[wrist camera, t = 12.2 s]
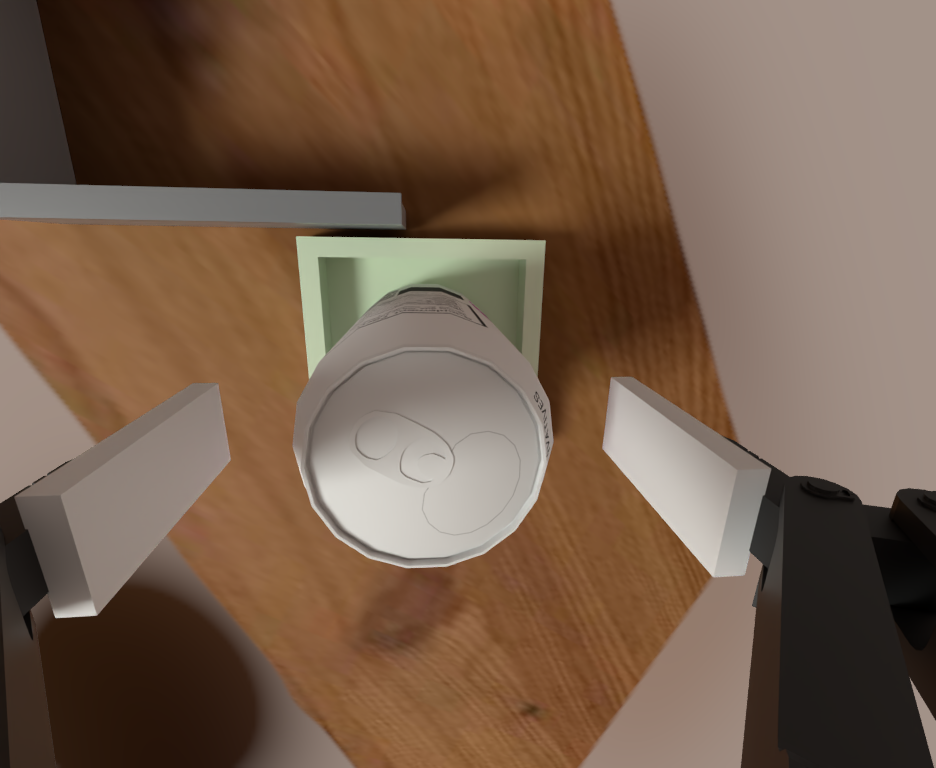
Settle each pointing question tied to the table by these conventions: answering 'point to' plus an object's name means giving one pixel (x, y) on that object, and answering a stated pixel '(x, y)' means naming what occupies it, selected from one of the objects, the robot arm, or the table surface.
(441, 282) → the tray
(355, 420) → the supplement can
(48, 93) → the dock
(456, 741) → the table surface
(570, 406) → the table surface
